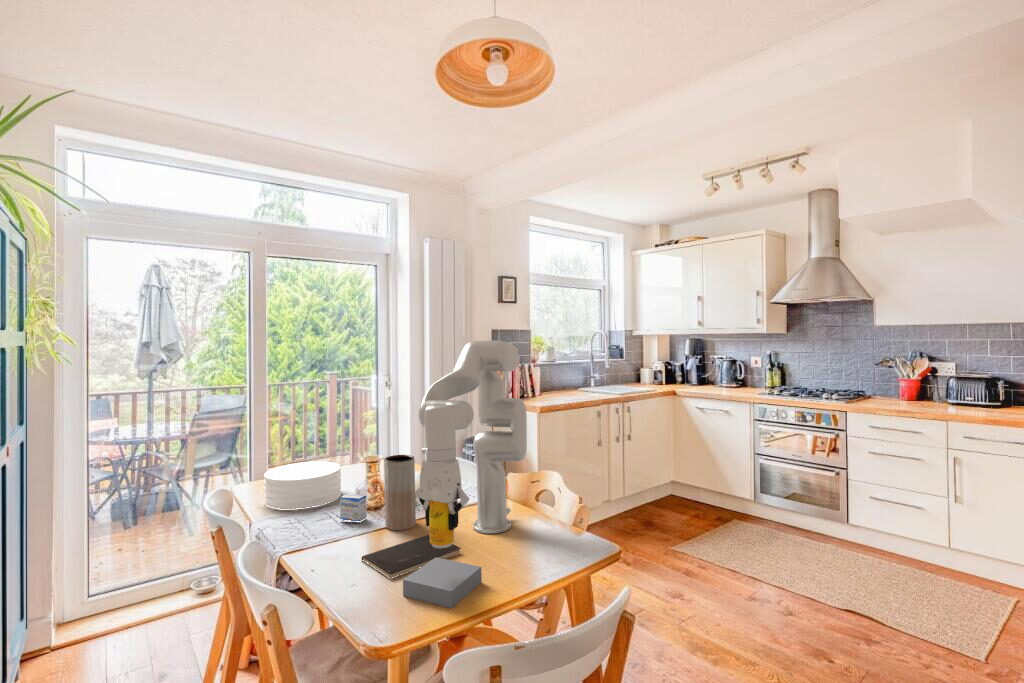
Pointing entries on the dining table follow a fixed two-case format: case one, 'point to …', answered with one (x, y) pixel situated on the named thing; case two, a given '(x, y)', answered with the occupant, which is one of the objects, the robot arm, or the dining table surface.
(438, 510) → the beer can
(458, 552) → the hardcover book
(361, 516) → the medicine box
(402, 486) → the planter
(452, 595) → the plate
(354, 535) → the dining table surface
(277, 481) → the plate stack
